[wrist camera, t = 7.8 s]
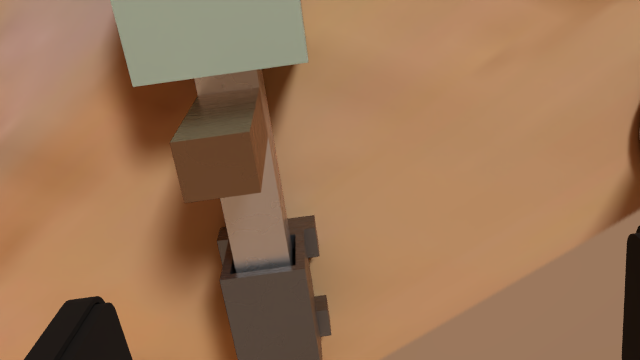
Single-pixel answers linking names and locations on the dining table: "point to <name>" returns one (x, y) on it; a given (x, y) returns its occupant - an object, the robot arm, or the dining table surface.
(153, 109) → the dining table surface
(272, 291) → the sleeve
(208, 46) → the socket block
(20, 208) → the dining table surface
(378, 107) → the dining table surface
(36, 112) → the dining table surface
